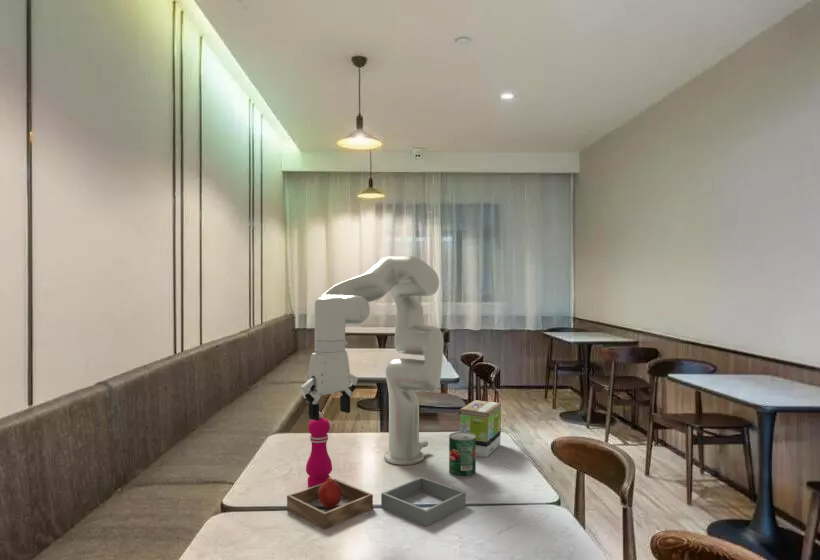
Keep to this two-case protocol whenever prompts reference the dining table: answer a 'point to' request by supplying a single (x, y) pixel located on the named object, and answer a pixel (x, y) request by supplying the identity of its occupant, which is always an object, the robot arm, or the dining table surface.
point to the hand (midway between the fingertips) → (330, 415)
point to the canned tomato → (462, 454)
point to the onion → (330, 494)
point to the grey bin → (425, 517)
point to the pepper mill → (318, 452)
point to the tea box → (482, 425)
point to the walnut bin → (337, 515)
